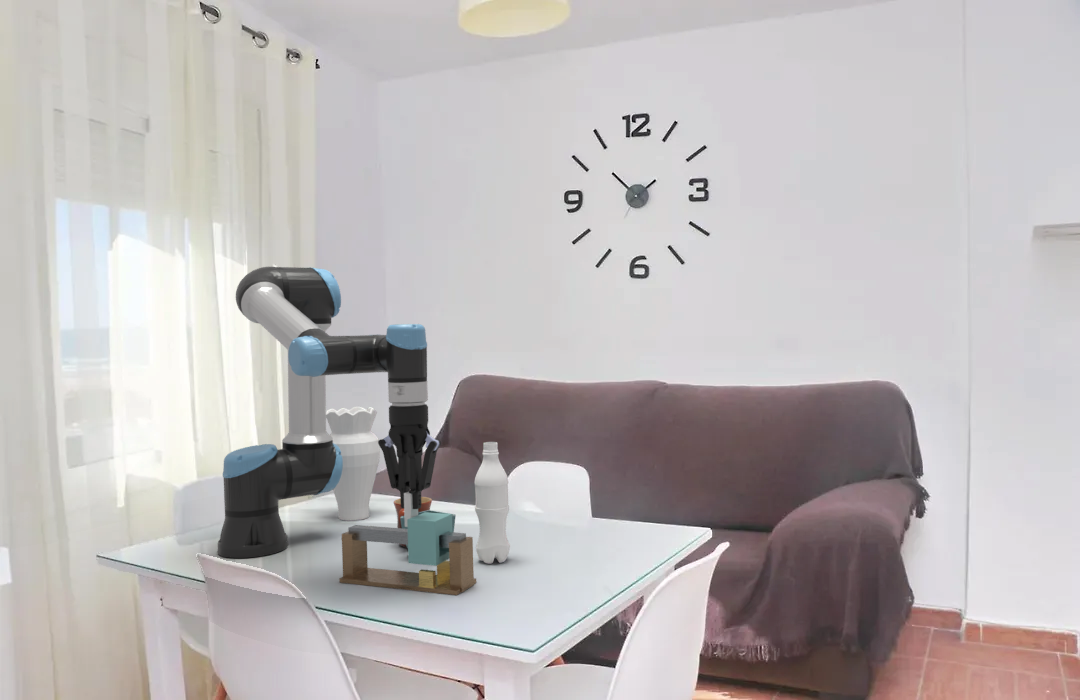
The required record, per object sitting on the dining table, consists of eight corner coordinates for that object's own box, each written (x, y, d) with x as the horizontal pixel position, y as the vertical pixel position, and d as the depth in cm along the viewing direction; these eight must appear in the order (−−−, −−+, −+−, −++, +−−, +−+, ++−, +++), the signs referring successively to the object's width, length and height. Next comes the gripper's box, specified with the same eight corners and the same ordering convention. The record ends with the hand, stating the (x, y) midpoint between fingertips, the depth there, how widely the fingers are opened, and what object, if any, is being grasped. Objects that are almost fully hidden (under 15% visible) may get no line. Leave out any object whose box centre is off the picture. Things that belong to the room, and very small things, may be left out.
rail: (338, 582, 162) (336, 530, 161) (362, 571, 169) (360, 521, 169) (457, 595, 152) (456, 540, 152) (477, 582, 159) (475, 530, 159)
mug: (403, 539, 194) (401, 496, 194) (438, 540, 193) (437, 496, 193) (383, 553, 183) (382, 507, 183) (420, 554, 181) (419, 507, 181)
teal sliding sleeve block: (408, 563, 156) (407, 519, 156) (426, 554, 162) (424, 512, 162) (436, 565, 154) (434, 521, 154) (453, 556, 160) (451, 514, 160)
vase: (324, 514, 225) (320, 408, 224) (378, 509, 229) (375, 405, 228) (327, 526, 211) (323, 412, 210) (385, 520, 215) (381, 409, 214)
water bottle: (480, 566, 170) (476, 446, 169) (473, 557, 177) (470, 441, 176) (513, 563, 172) (510, 443, 171) (506, 554, 179) (503, 439, 178)
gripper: (368, 405, 158) (372, 527, 159) (428, 406, 153) (431, 532, 154) (389, 401, 165) (393, 518, 166) (447, 402, 160) (450, 523, 161)
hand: (411, 525), depth 160 cm, fingers closed
